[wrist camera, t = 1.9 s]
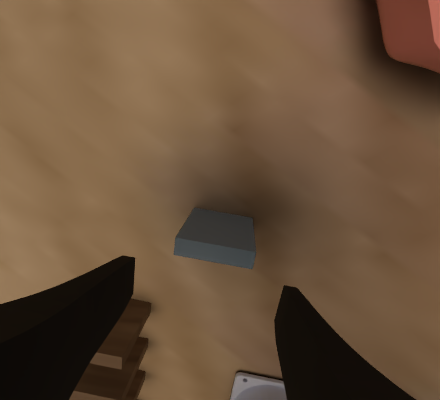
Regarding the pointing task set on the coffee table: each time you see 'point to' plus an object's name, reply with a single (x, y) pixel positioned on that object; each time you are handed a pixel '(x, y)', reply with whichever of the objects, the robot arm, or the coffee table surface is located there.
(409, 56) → the cell model
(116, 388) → the domino
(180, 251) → the domino
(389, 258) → the coffee table surface
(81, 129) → the coffee table surface
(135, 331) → the domino
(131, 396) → the domino
